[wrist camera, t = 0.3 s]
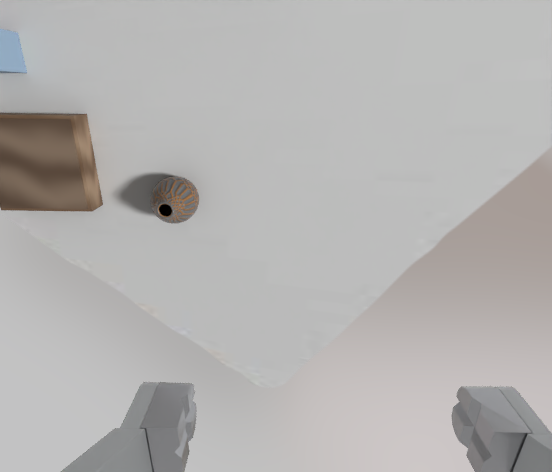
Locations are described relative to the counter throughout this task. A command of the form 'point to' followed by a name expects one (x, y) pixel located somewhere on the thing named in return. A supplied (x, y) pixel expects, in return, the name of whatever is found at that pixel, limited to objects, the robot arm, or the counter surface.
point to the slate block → (11, 53)
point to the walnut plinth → (47, 163)
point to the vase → (174, 199)
